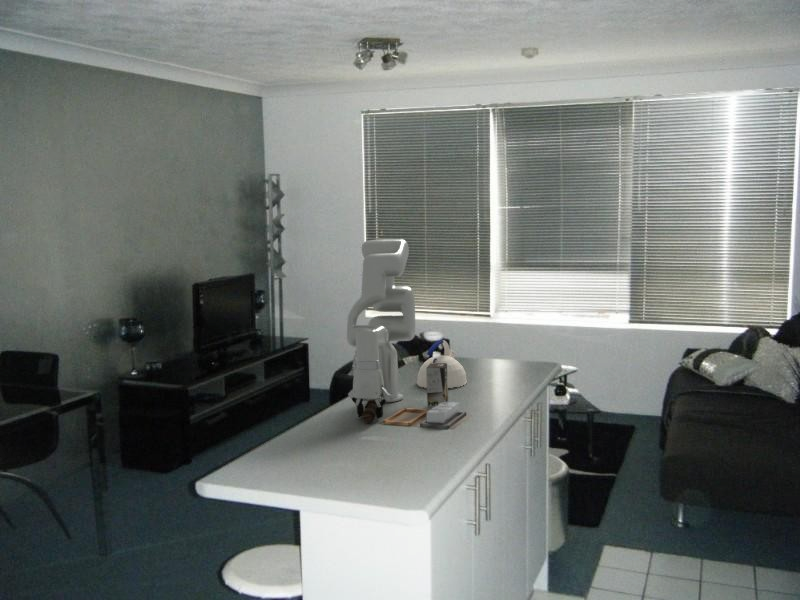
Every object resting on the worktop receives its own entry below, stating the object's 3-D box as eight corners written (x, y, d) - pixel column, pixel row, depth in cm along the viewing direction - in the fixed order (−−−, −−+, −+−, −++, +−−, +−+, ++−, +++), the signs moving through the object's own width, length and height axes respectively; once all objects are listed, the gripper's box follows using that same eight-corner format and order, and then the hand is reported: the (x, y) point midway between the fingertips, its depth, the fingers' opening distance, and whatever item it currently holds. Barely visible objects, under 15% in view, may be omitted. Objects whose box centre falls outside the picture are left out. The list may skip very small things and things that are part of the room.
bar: (427, 425, 260) (426, 412, 260) (443, 414, 274) (442, 401, 273) (444, 427, 258) (444, 413, 257) (459, 415, 271) (459, 402, 271)
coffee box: (445, 413, 280) (444, 367, 278) (427, 413, 281) (425, 367, 280) (449, 407, 289) (447, 362, 287) (431, 406, 290) (429, 362, 289)
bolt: (365, 430, 269) (371, 417, 284) (378, 422, 268) (383, 410, 283) (356, 415, 269) (363, 403, 284) (368, 407, 268) (375, 396, 283)
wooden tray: (378, 427, 265) (378, 420, 265) (400, 413, 282) (400, 407, 282) (453, 433, 255) (453, 426, 255) (471, 418, 272) (471, 412, 271)
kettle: (476, 381, 332) (474, 337, 330) (451, 391, 315) (450, 345, 313) (433, 377, 343) (432, 335, 341) (407, 387, 326) (405, 342, 324)
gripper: (340, 366, 274) (342, 418, 276) (386, 368, 267) (388, 421, 269) (350, 362, 281) (352, 413, 282) (395, 364, 274) (397, 416, 276)
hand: (370, 416), depth 276 cm, fingers closed on bolt, 6 cm apart
